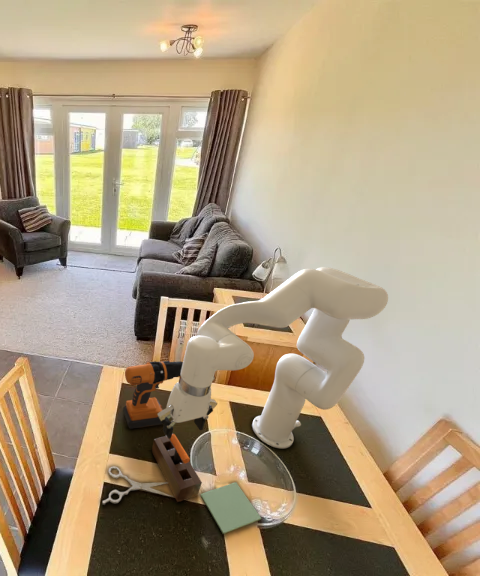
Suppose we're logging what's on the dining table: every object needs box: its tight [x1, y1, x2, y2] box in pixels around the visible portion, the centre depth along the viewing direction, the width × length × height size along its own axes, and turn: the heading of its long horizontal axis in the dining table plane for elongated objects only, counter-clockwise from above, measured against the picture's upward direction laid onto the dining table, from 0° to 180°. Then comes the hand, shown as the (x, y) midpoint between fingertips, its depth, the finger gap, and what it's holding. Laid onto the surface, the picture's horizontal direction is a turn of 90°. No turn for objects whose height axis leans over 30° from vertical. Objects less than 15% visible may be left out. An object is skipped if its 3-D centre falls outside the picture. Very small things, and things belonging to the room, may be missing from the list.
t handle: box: [170, 433, 191, 465], centre depth 91 cm, size 2×8×12 cm, turn 17°
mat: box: [200, 481, 262, 535], centre depth 86 cm, size 12×10×1 cm
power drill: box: [122, 360, 183, 429], centre depth 106 cm, size 22×7×25 cm, turn 101°
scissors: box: [102, 465, 174, 505], centre depth 90 cm, size 11×1×20 cm
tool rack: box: [151, 435, 203, 503], centre depth 93 cm, size 7×16×6 cm, turn 18°
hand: (182, 429), depth 85 cm, fingers open, 9 cm apart
